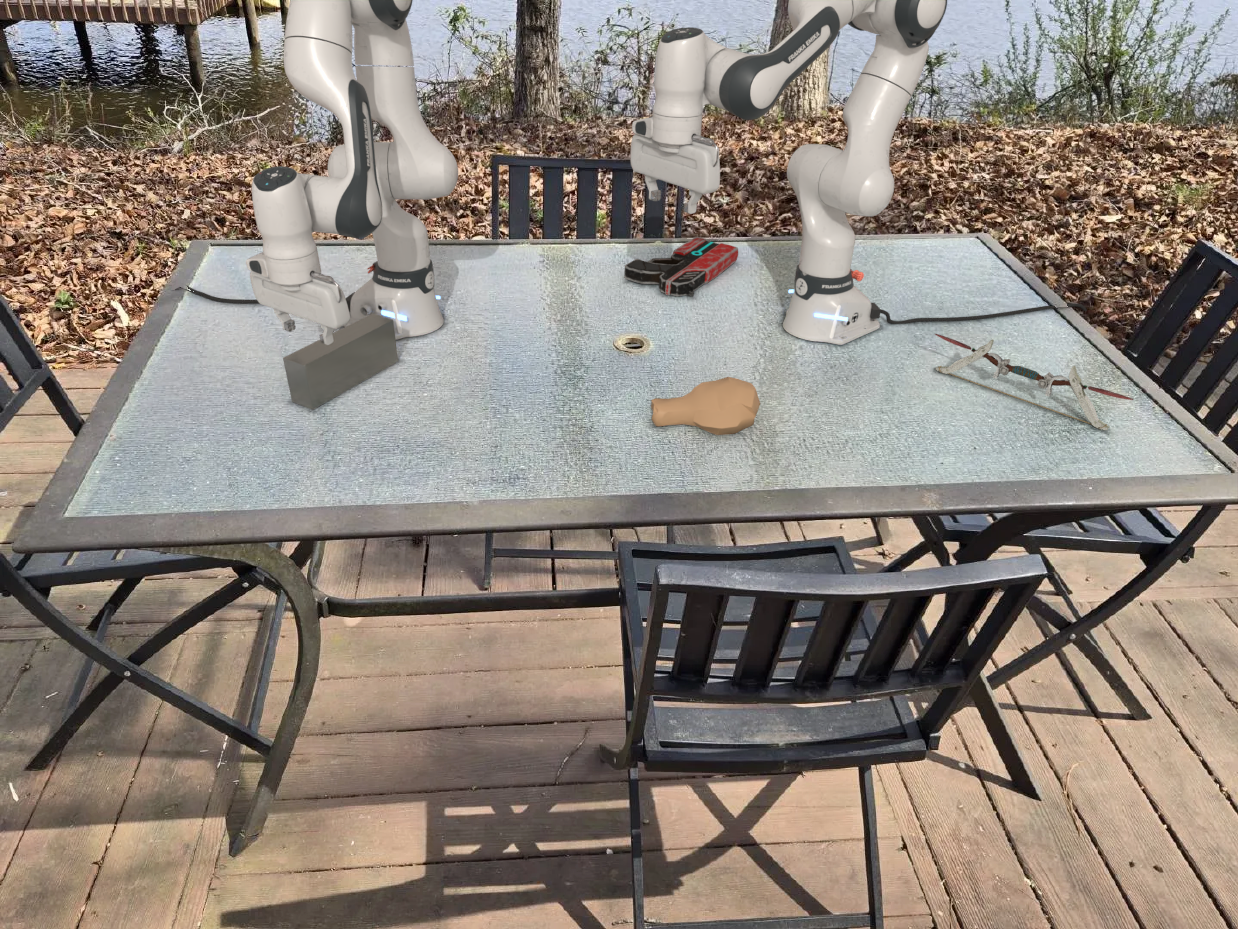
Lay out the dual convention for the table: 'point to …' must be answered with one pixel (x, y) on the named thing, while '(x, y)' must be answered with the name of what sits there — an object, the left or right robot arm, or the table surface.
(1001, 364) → the bow
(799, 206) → the right robot arm
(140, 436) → the table surface
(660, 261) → the gun
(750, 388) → the squash
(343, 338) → the bar
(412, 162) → the left robot arm
